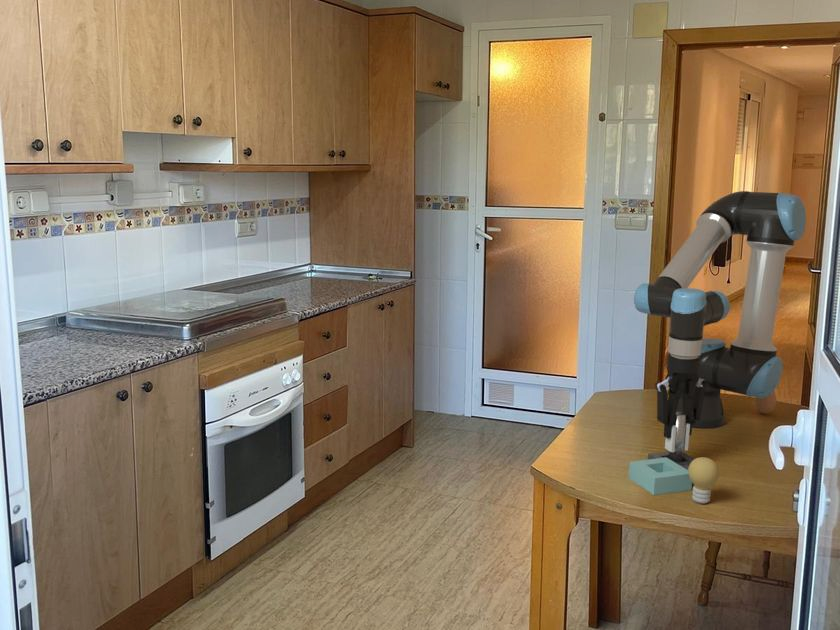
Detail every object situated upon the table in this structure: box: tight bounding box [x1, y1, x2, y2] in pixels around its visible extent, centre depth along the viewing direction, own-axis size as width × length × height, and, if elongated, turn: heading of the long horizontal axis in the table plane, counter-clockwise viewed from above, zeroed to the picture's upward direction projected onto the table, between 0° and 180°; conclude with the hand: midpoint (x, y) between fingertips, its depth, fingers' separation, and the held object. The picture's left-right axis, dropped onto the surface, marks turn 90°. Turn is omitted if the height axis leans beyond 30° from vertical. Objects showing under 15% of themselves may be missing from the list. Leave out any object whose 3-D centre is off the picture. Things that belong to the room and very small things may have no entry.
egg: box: [754, 390, 777, 415], centre depth 243 cm, size 6×6×8 cm
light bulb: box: [688, 456, 720, 504], centre depth 182 cm, size 6×6×10 cm
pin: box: [669, 412, 686, 463], centre depth 200 cm, size 3×3×13 cm
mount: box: [647, 450, 695, 470], centre depth 201 cm, size 9×9×2 cm
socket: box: [628, 457, 693, 496], centre depth 192 cm, size 10×10×4 cm
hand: (676, 449), depth 201 cm, fingers closed on pin, 3 cm apart
